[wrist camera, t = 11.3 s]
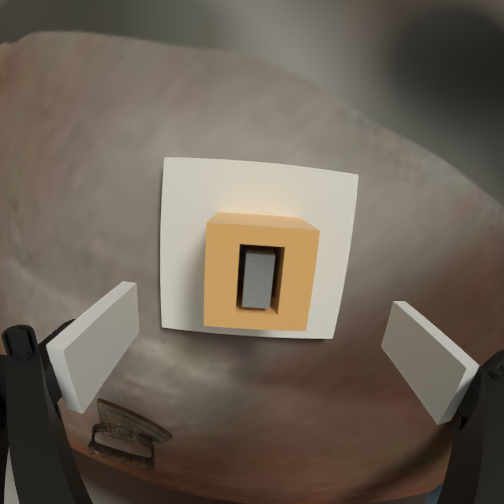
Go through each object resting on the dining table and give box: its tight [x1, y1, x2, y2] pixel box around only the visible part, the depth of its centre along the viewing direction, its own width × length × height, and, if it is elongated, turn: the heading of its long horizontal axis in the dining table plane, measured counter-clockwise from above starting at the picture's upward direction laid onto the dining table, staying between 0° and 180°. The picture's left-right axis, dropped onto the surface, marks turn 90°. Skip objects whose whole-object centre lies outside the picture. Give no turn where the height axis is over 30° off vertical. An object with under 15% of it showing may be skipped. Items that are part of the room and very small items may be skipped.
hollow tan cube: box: [204, 212, 320, 331], centre depth 22 cm, size 7×7×7 cm
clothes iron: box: [88, 399, 172, 472], centre depth 29 cm, size 7×11×10 cm, turn 79°
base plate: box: [160, 158, 359, 339], centre depth 26 cm, size 16×17×2 cm
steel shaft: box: [242, 244, 275, 309], centre depth 22 cm, size 4×2×7 cm, turn 176°
